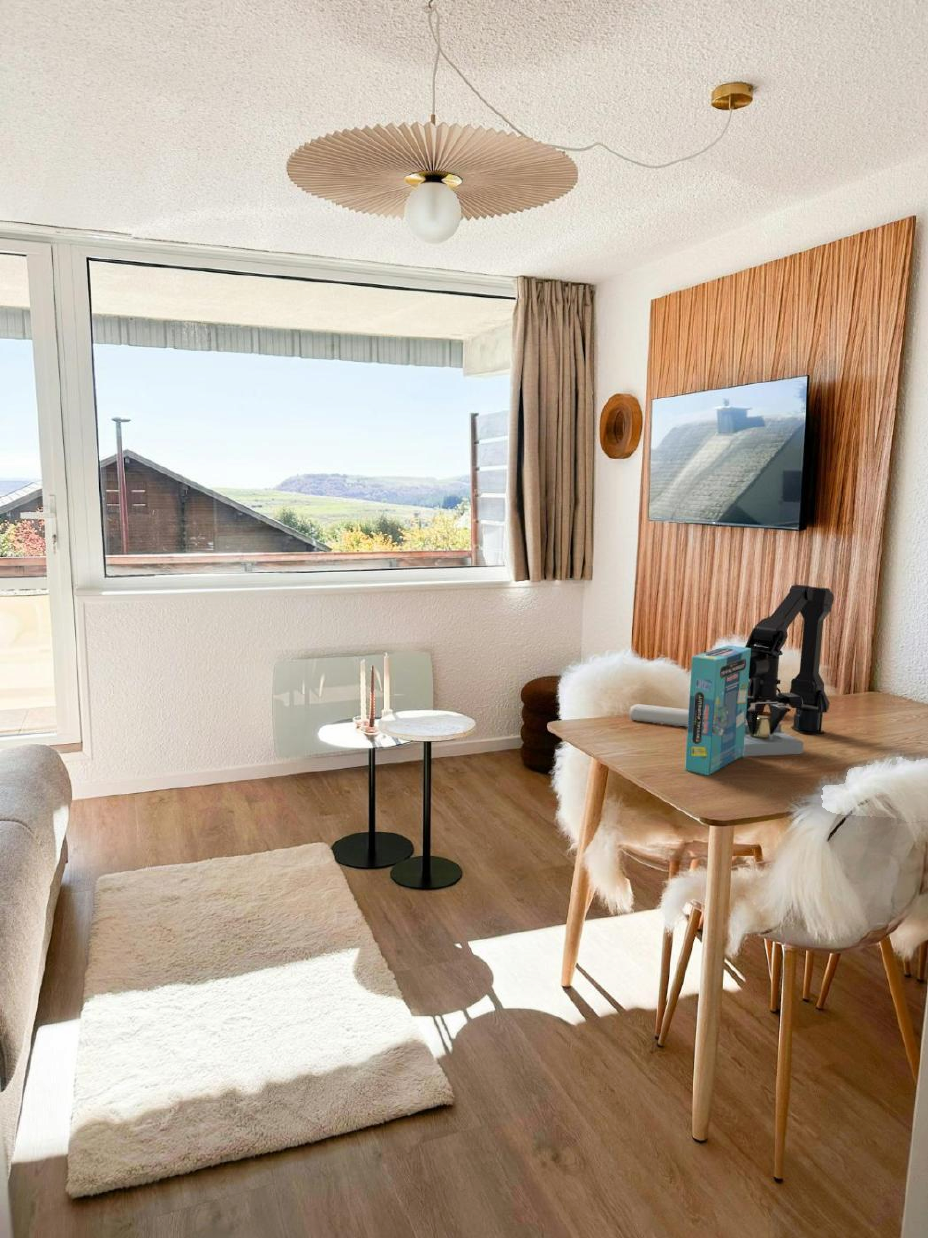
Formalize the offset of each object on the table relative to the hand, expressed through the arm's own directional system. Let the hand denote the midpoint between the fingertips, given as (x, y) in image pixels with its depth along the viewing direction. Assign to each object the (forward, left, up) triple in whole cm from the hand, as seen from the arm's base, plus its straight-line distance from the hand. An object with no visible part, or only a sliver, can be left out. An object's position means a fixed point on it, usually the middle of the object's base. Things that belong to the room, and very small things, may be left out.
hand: (761, 734), depth 220 cm
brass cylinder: (0, 0, -4) cm, 4 cm away
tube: (+12, -24, -4) cm, 27 cm away
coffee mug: (-18, -33, -4) cm, 38 cm away
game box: (+18, +10, -4) cm, 21 cm away
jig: (0, 0, -4) cm, 4 cm away
